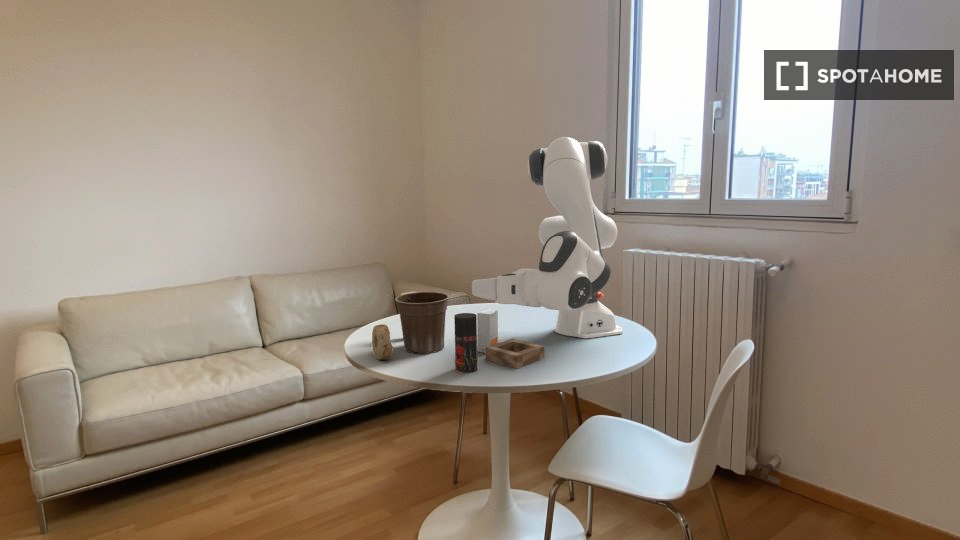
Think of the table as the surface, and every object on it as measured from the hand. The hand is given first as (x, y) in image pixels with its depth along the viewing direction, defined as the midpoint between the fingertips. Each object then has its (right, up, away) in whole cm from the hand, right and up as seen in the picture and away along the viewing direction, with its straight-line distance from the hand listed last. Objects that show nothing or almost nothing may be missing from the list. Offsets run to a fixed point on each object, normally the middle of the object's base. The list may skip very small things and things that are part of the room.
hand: (488, 283), depth 137 cm
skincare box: (0, -21, +27) cm, 34 cm away
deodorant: (-6, -24, +10) cm, 26 cm away
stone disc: (-31, -23, +20) cm, 43 cm away
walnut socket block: (+8, -22, +18) cm, 30 cm away
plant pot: (-20, -21, +30) cm, 41 cm away
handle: (-25, -19, +41) cm, 51 cm away
